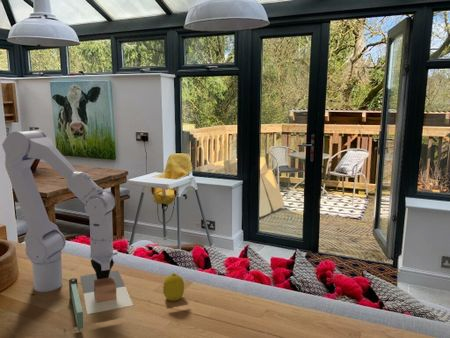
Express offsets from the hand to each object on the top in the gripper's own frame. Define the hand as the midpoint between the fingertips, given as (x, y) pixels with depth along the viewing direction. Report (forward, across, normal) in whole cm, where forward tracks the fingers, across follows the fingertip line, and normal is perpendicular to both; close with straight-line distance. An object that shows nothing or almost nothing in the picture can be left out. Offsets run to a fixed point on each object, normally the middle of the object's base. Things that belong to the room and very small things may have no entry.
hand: (102, 285), depth 103 cm
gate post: (+2, -2, +8) cm, 8 cm away
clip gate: (+1, -10, +7) cm, 13 cm away
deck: (+2, 0, 0) cm, 3 cm away
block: (+2, -4, 0) cm, 4 cm away
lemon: (+3, -12, -16) cm, 20 cm away
